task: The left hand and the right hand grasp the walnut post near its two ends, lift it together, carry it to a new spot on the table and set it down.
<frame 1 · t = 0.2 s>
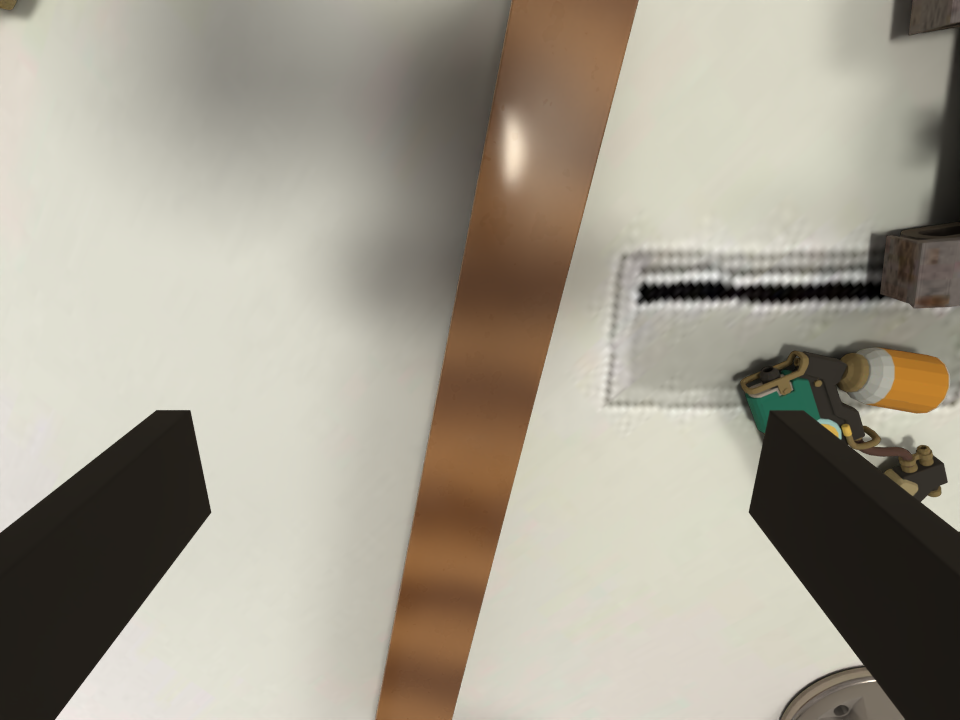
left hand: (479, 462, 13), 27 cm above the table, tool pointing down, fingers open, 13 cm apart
post: (464, 445, 44), on the table
spray gun: (830, 431, 43), on the table
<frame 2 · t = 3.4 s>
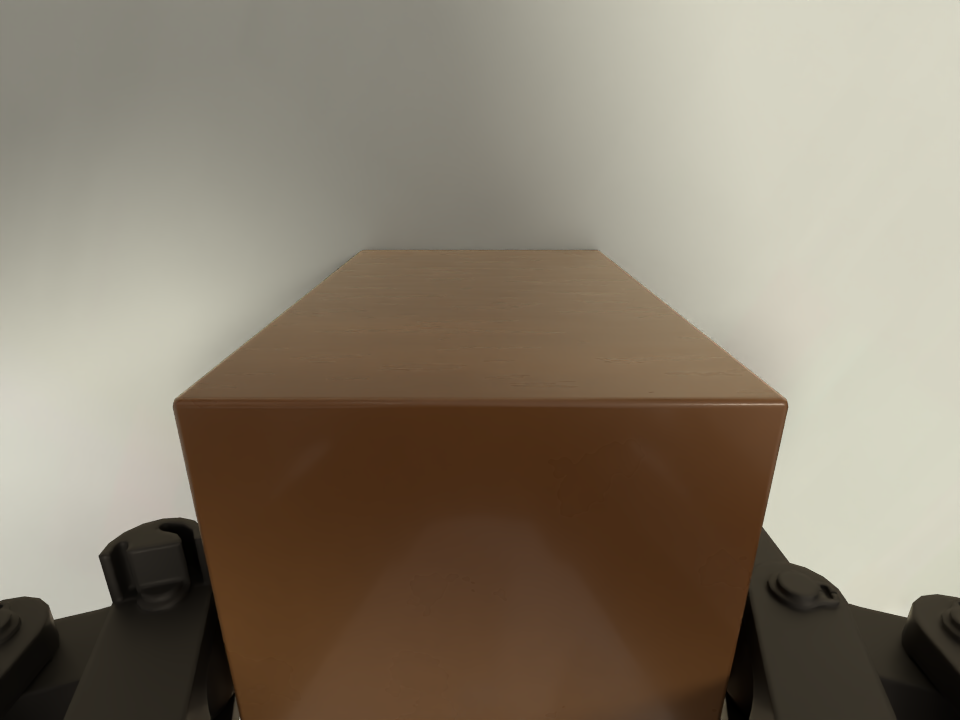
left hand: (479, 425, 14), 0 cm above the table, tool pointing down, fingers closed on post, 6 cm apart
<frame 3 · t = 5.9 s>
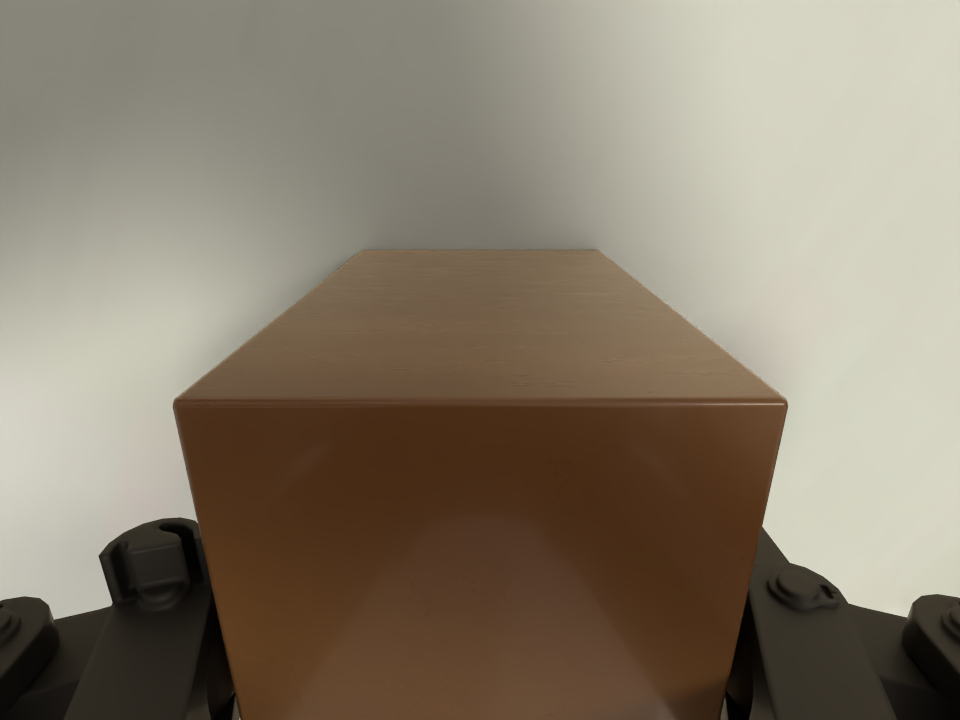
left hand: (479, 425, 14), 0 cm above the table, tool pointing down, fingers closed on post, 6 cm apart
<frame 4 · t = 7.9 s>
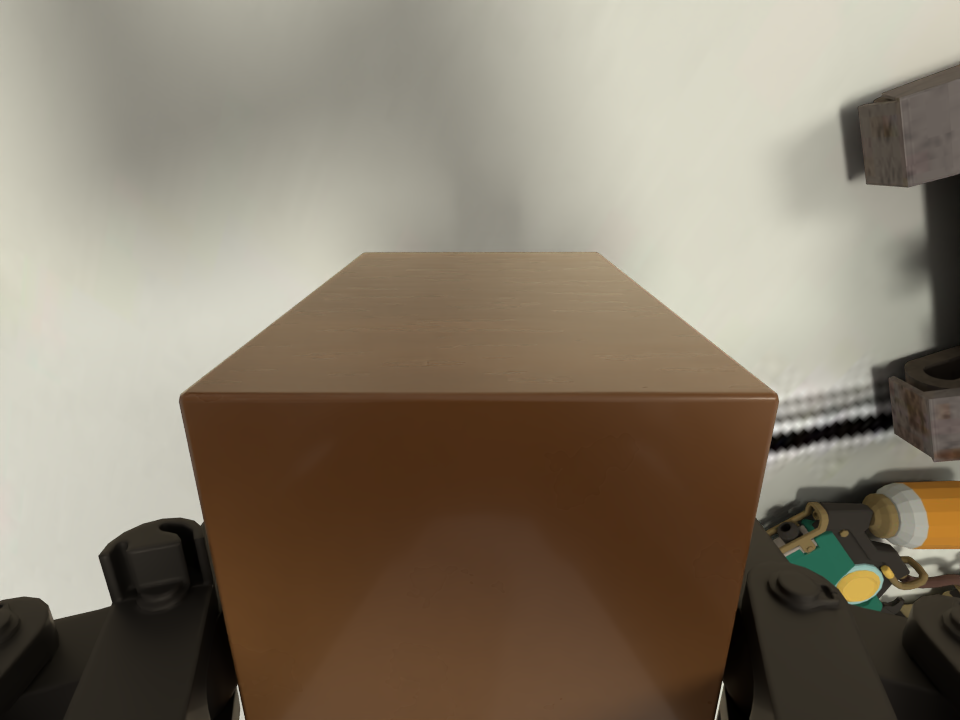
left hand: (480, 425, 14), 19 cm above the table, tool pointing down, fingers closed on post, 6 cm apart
spray gun: (870, 561, 39), on the table
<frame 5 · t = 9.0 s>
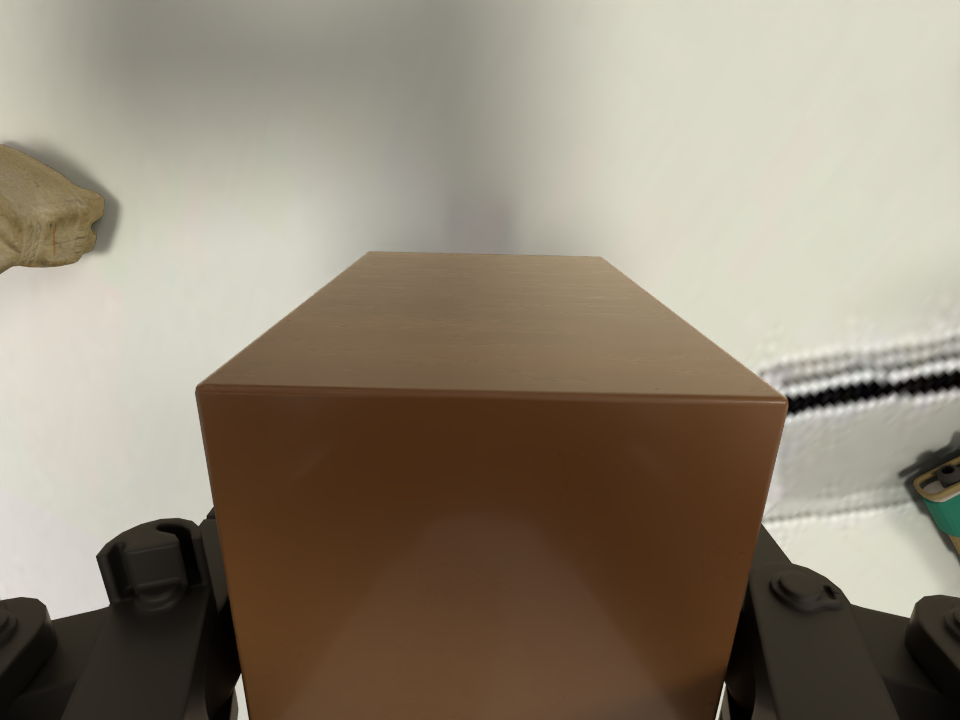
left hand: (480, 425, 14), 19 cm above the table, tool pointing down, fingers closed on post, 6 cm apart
sculpture: (57, 202, 31), on the table
when the left hand's fingers open (1 cm above the table, at t = 12.3 s): post stays where it is, on the table.
when the right hand's fingers open (1 cm above the table, at t = 12.3 s): post stays where it is, on the table.
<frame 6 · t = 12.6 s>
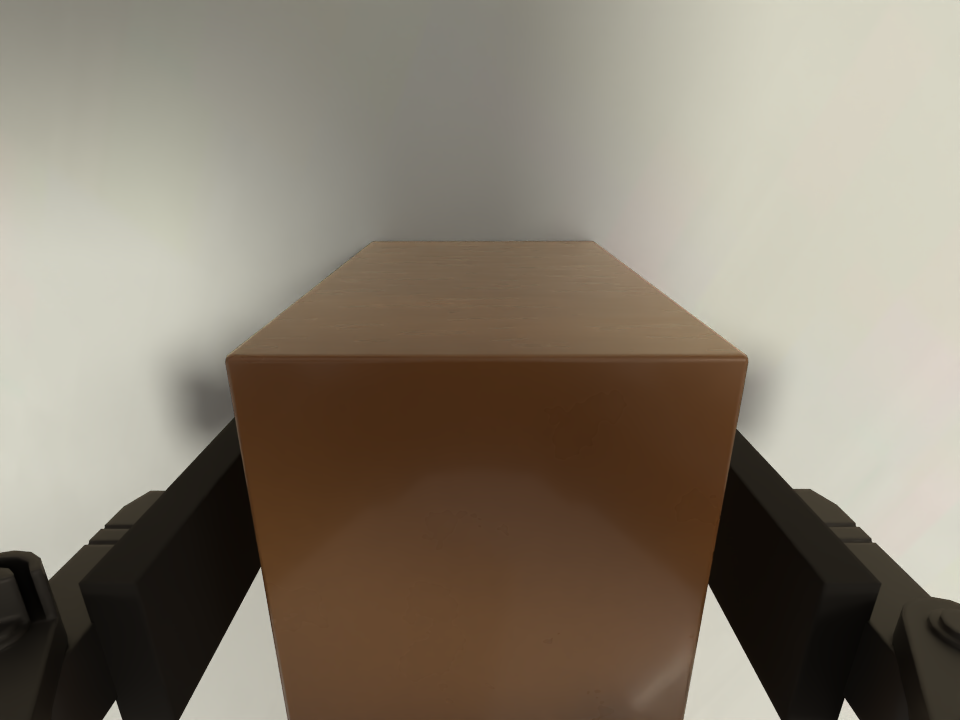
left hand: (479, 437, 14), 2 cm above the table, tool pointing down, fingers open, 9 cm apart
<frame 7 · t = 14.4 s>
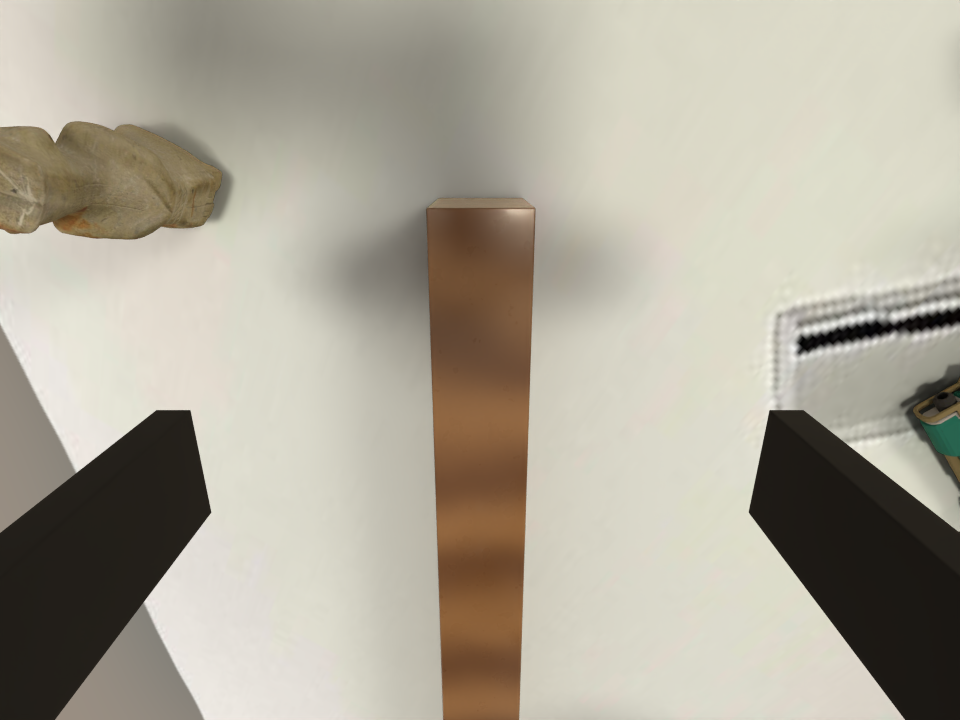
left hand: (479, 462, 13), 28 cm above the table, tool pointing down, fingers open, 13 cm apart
sculpture: (179, 177, 37), on the table
post: (480, 577, 48), on the table
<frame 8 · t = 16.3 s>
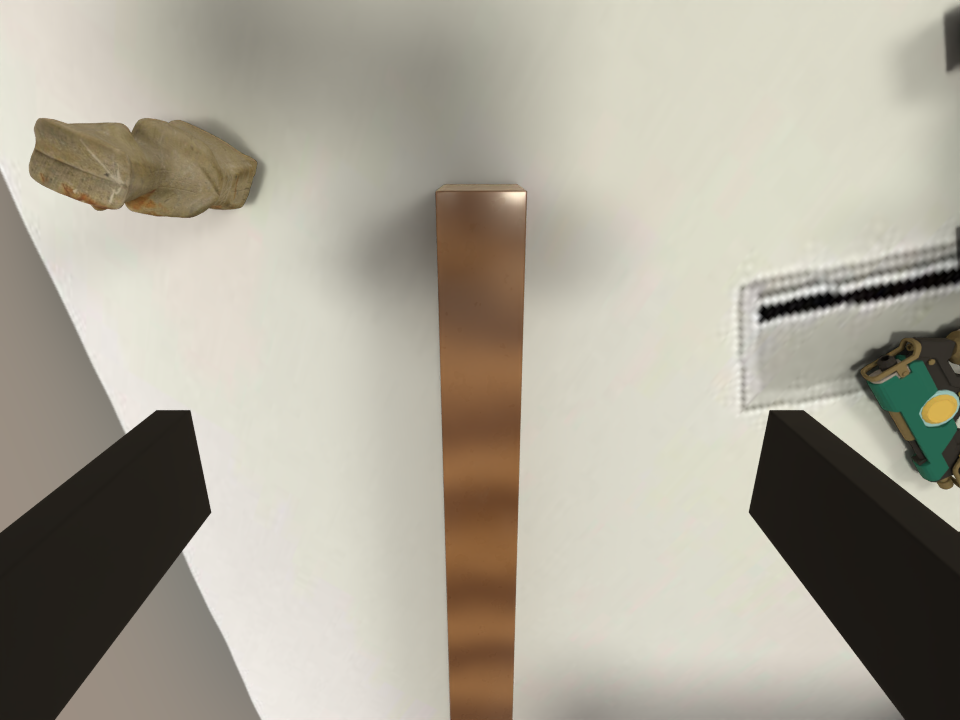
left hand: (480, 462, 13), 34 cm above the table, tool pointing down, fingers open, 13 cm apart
sculpture: (219, 166, 42), on the table
post: (481, 524, 54), on the table
spray gun: (945, 397, 49), on the table
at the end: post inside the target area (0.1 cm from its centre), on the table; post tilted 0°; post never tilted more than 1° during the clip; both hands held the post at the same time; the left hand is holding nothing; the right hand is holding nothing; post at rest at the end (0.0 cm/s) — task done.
